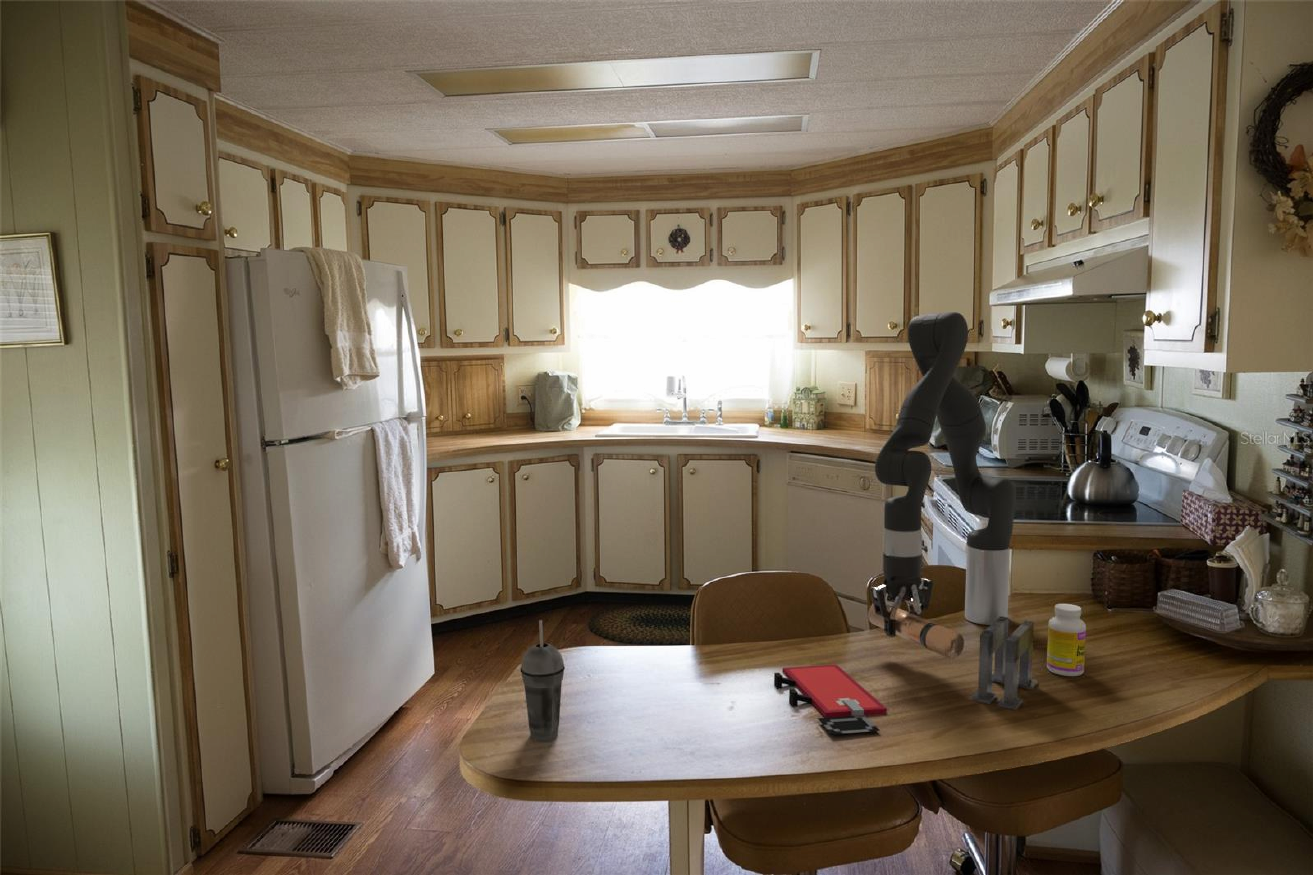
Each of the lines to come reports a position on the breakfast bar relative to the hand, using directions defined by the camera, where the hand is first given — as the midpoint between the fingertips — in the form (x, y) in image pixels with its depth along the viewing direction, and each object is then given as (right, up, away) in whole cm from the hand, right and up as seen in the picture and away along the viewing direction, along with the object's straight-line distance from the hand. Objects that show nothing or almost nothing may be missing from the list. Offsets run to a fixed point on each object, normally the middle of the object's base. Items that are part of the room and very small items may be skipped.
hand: (901, 633), depth 180 cm
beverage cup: (-67, -11, -31) cm, 75 cm away
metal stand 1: (+13, -8, -13) cm, 20 cm away
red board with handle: (-18, -9, -17) cm, 26 cm away
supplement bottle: (+31, -7, -4) cm, 32 cm away
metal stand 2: (+17, -8, -15) cm, 24 cm away
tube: (+1, -1, -3) cm, 4 cm away
